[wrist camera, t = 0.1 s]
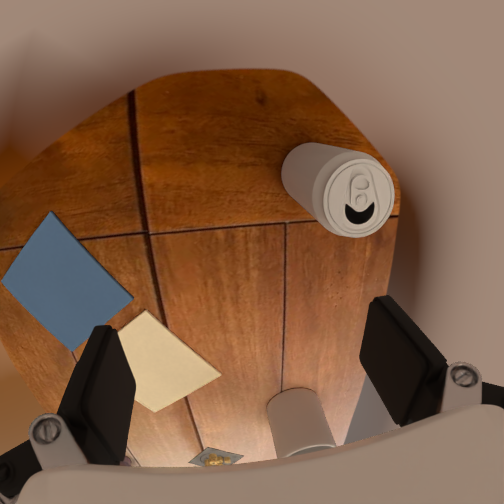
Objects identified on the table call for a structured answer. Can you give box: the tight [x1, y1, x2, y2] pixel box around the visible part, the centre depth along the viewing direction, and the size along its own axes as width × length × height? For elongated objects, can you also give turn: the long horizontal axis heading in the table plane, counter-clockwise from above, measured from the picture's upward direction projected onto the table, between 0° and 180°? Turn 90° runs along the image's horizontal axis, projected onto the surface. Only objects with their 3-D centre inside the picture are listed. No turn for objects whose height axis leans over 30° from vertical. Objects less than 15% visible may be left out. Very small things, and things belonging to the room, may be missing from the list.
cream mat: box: [117, 309, 222, 412], centre depth 38 cm, size 14×14×1 cm
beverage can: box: [281, 143, 394, 238], centre depth 26 cm, size 6×6×12 cm
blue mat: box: [1, 211, 134, 352], centre depth 32 cm, size 14×14×1 cm
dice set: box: [204, 453, 232, 466], centre depth 49 cm, size 5×5×2 cm
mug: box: [267, 388, 337, 459], centre depth 41 cm, size 12×8×11 cm
